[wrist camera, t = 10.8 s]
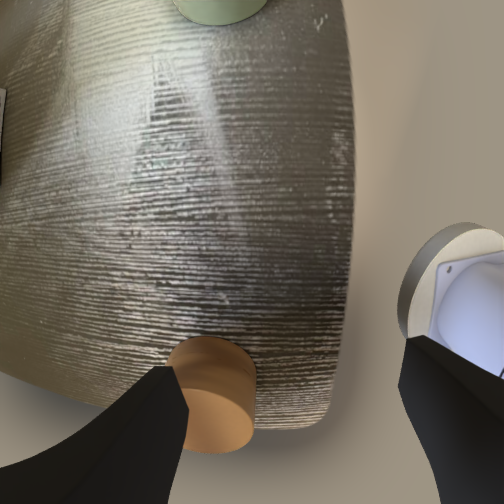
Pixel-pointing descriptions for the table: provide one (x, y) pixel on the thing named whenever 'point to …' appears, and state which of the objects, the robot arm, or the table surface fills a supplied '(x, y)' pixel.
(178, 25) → the table surface
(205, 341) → the stand
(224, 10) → the jar
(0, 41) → the table surface
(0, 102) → the white product box
